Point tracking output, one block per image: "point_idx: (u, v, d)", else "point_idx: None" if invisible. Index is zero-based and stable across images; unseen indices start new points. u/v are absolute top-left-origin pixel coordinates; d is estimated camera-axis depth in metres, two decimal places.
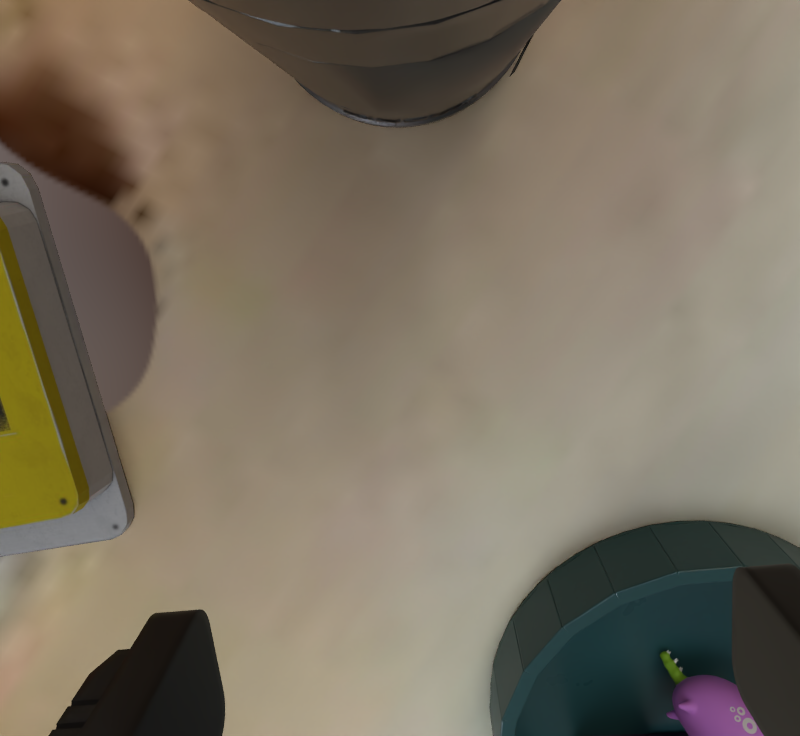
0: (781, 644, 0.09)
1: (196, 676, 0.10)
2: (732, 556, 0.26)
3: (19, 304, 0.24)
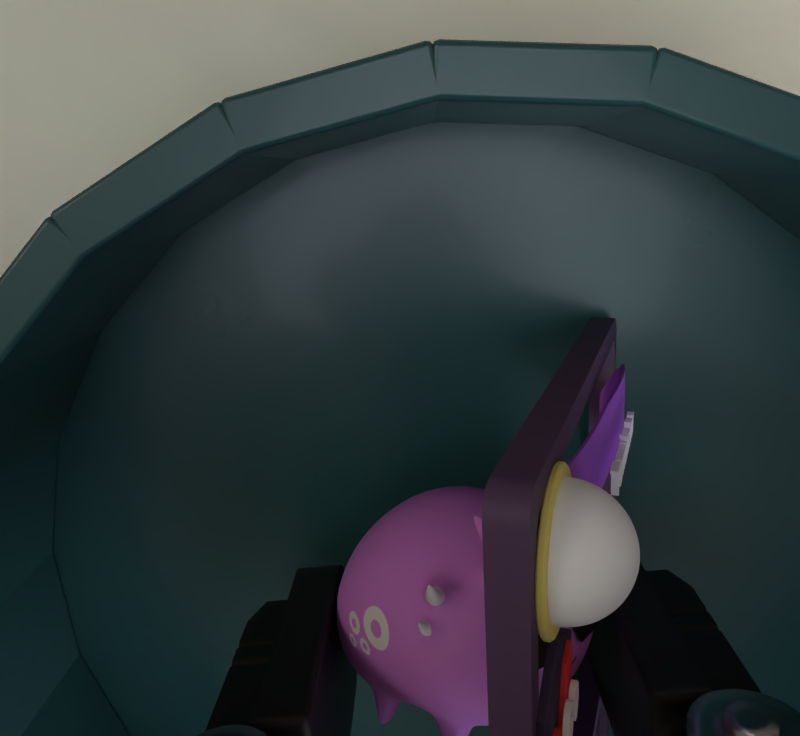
0: None
1: None
2: None
3: None
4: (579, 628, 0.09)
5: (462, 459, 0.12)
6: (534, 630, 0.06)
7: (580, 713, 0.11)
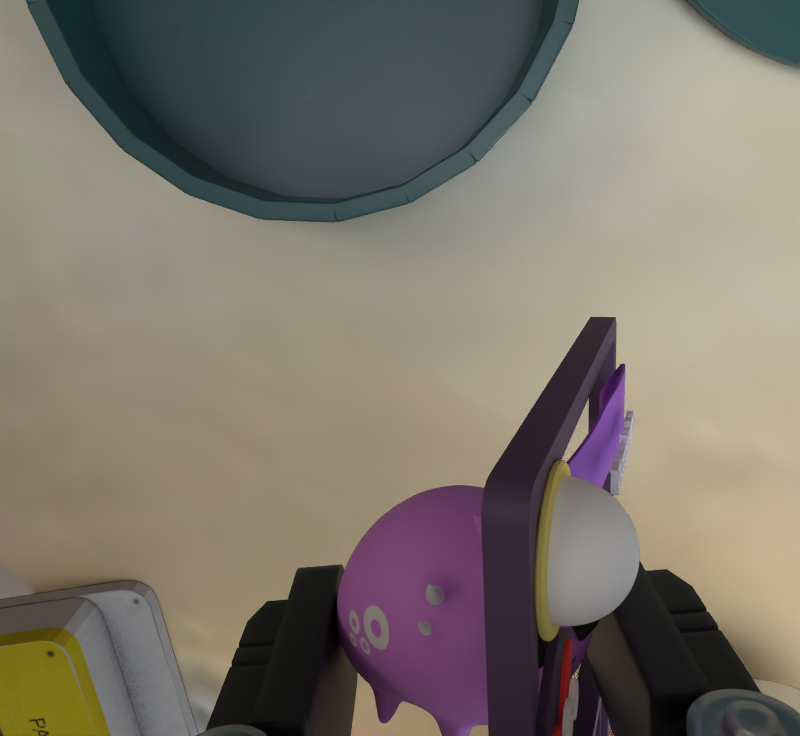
0: None
1: None
2: None
3: None
4: (579, 627, 0.09)
5: None
6: (533, 629, 0.06)
7: (580, 712, 0.11)
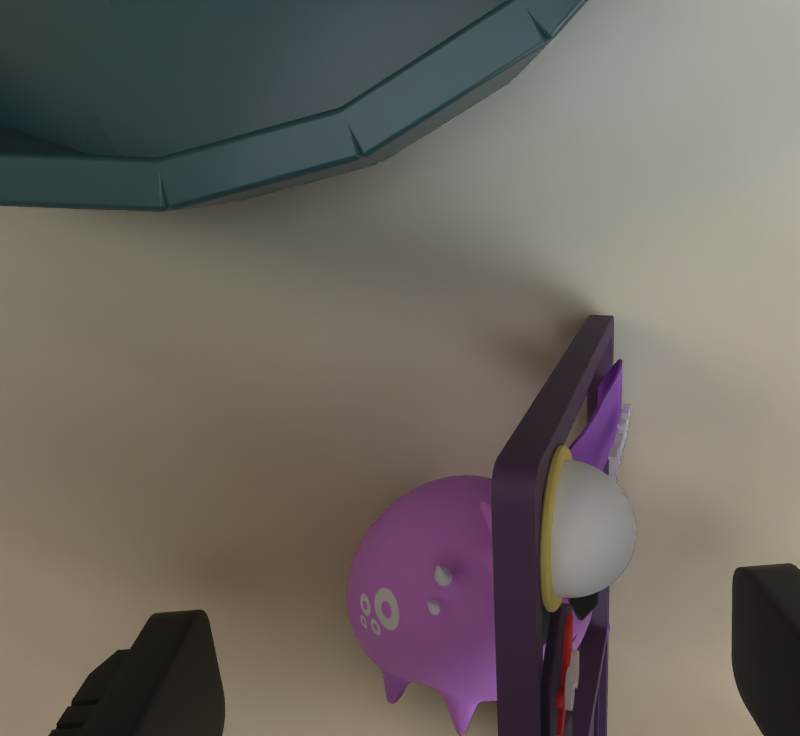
0: (781, 645, 0.09)
1: (196, 676, 0.10)
2: None
3: None
4: (579, 607, 0.09)
5: None
6: (537, 599, 0.06)
7: (580, 693, 0.11)
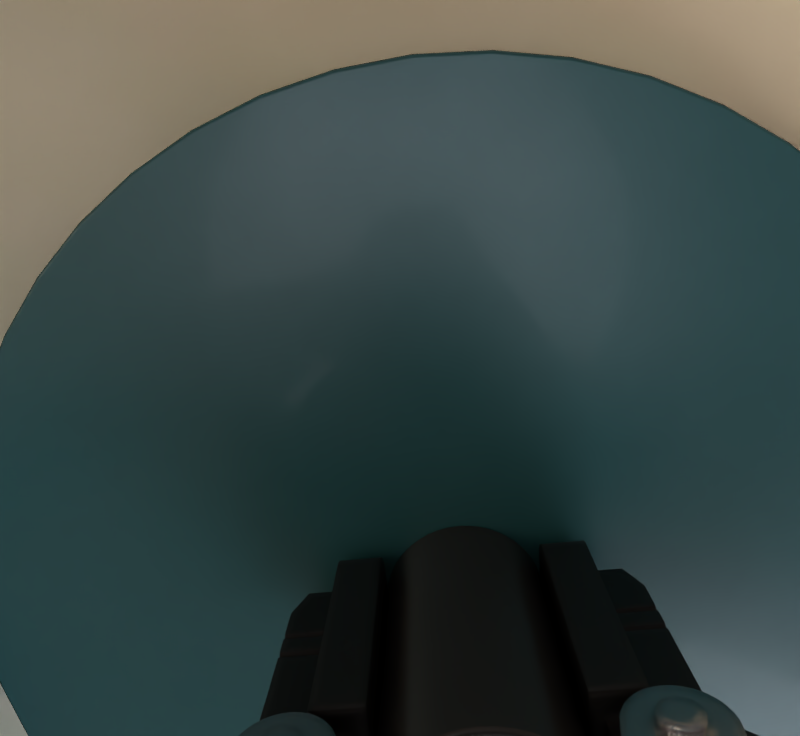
0: (555, 610, 0.10)
1: (385, 617, 0.11)
2: None
3: None
4: None
5: None
6: None
7: None
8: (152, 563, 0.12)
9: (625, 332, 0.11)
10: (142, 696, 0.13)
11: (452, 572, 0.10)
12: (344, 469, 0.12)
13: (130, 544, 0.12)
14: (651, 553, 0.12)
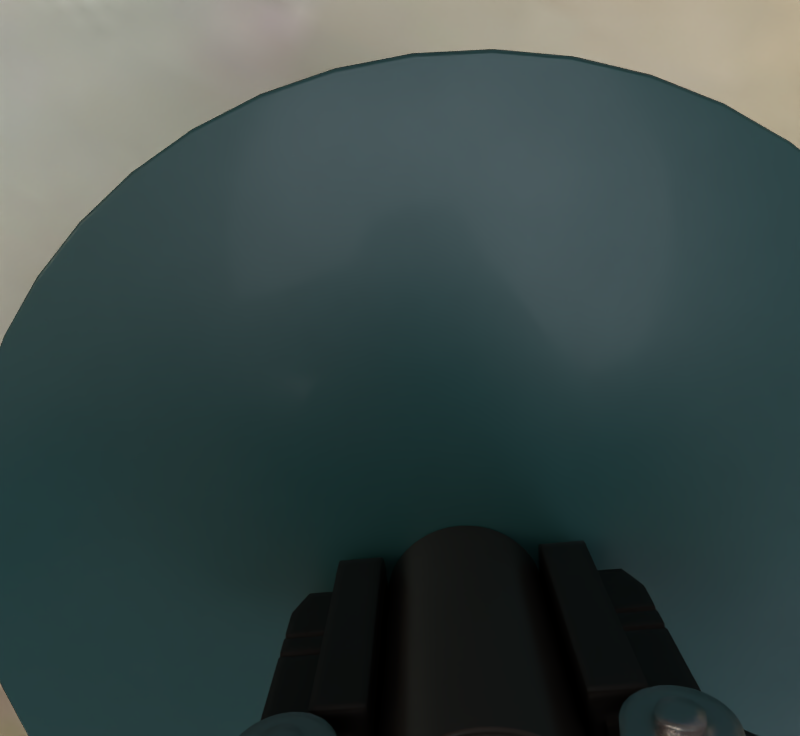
0: (555, 610, 0.10)
1: (385, 617, 0.11)
2: None
3: None
4: None
5: None
6: None
7: None
8: (152, 563, 0.12)
9: (626, 332, 0.11)
10: (142, 696, 0.13)
11: (453, 572, 0.10)
12: (344, 469, 0.12)
13: (130, 544, 0.12)
14: (652, 553, 0.12)
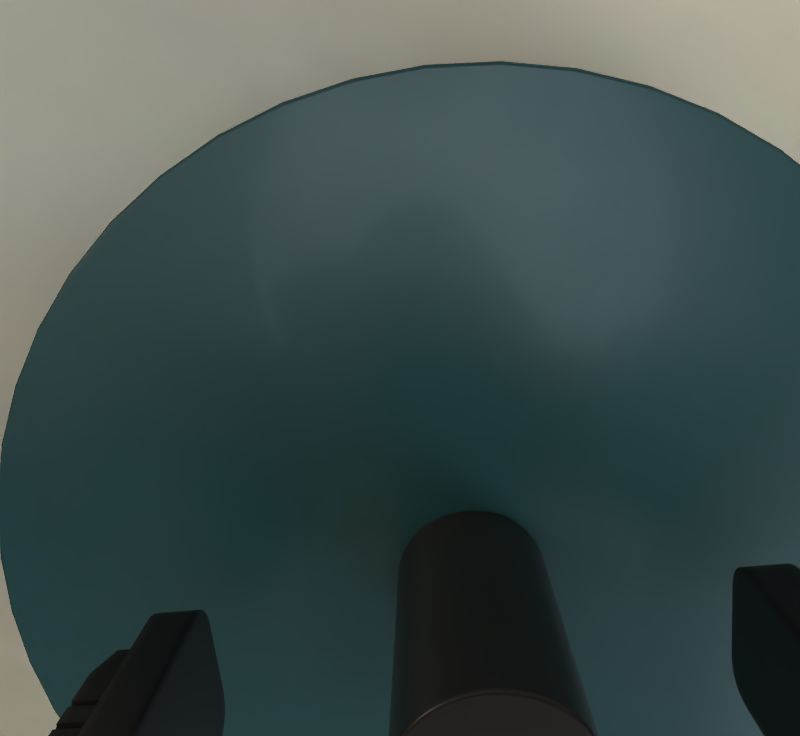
0: (780, 645, 0.09)
1: (196, 676, 0.10)
2: None
3: None
4: None
5: None
6: None
7: None
8: (175, 545, 0.13)
9: (625, 327, 0.12)
10: None
11: (461, 553, 0.11)
12: (357, 456, 0.12)
13: (154, 527, 0.13)
14: (649, 538, 0.12)
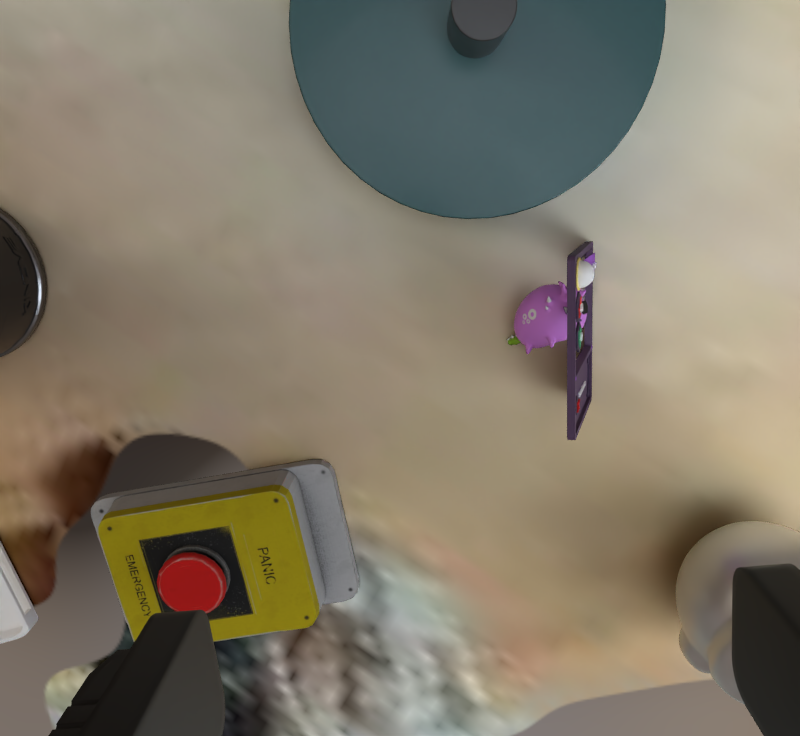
0: (781, 645, 0.09)
1: (196, 676, 0.10)
2: None
3: (149, 510, 0.40)
4: (582, 310, 0.36)
5: None
6: (575, 282, 0.33)
7: (582, 353, 0.38)
8: (359, 16, 0.33)
9: None
10: (350, 78, 0.33)
11: None
12: None
13: (351, 7, 0.32)
14: (544, 7, 0.32)
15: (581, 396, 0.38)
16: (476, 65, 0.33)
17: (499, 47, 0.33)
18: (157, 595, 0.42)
